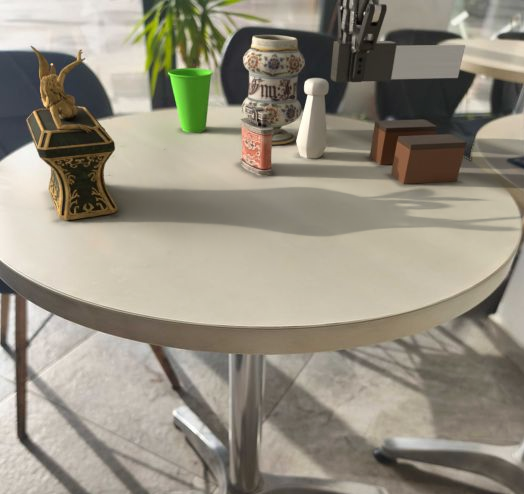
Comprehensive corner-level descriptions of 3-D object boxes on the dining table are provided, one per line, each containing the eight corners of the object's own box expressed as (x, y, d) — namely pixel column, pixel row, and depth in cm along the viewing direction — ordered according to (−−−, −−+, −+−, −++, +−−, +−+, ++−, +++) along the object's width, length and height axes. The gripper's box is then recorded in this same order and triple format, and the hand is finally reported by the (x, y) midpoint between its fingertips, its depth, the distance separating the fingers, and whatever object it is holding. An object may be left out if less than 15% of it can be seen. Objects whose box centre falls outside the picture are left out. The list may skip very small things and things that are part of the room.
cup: (189, 137, 102) (185, 77, 95) (164, 128, 107) (159, 70, 100) (223, 130, 107) (221, 73, 100) (198, 121, 112) (195, 66, 105)
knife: (453, 76, 80) (461, 40, 77) (461, 79, 78) (470, 42, 75) (330, 78, 77) (333, 41, 74) (335, 82, 75) (339, 43, 72)
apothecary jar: (311, 140, 103) (320, 38, 92) (269, 150, 96) (272, 42, 85) (272, 127, 110) (275, 31, 98) (229, 136, 103) (228, 35, 92)
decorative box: (128, 217, 70) (104, 57, 58) (57, 228, 67) (15, 60, 54) (100, 172, 84) (76, 36, 72) (40, 180, 81) (4, 38, 68)
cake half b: (417, 154, 97) (424, 119, 93) (429, 162, 93) (437, 126, 89) (369, 156, 95) (375, 120, 91) (379, 164, 91) (386, 128, 87)
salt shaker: (290, 152, 96) (294, 77, 88) (315, 149, 98) (321, 75, 90) (305, 161, 92) (311, 83, 83) (331, 157, 94) (339, 81, 86)
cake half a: (442, 171, 89) (451, 134, 85) (456, 181, 85) (467, 142, 81) (390, 174, 87) (398, 136, 83) (403, 184, 83) (411, 144, 79)
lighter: (276, 173, 86) (278, 111, 80) (259, 176, 84) (260, 113, 78) (252, 160, 91) (253, 101, 85) (236, 163, 90) (236, 103, 84)
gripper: (418, -68, 61) (392, 88, 72) (375, -64, 72) (358, 71, 82) (361, -70, 60) (343, 89, 70) (326, -66, 70) (315, 72, 81)
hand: (351, 79), depth 76 cm, fingers closed on knife, 2 cm apart
